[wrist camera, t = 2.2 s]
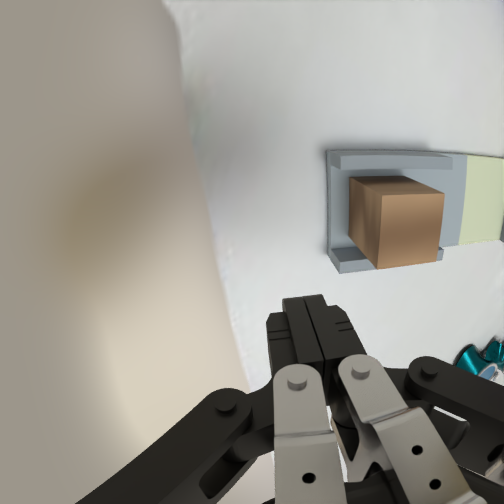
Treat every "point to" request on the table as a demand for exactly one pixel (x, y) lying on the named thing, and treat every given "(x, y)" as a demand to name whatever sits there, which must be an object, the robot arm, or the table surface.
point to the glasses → (483, 361)
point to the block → (395, 220)
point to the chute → (426, 172)
